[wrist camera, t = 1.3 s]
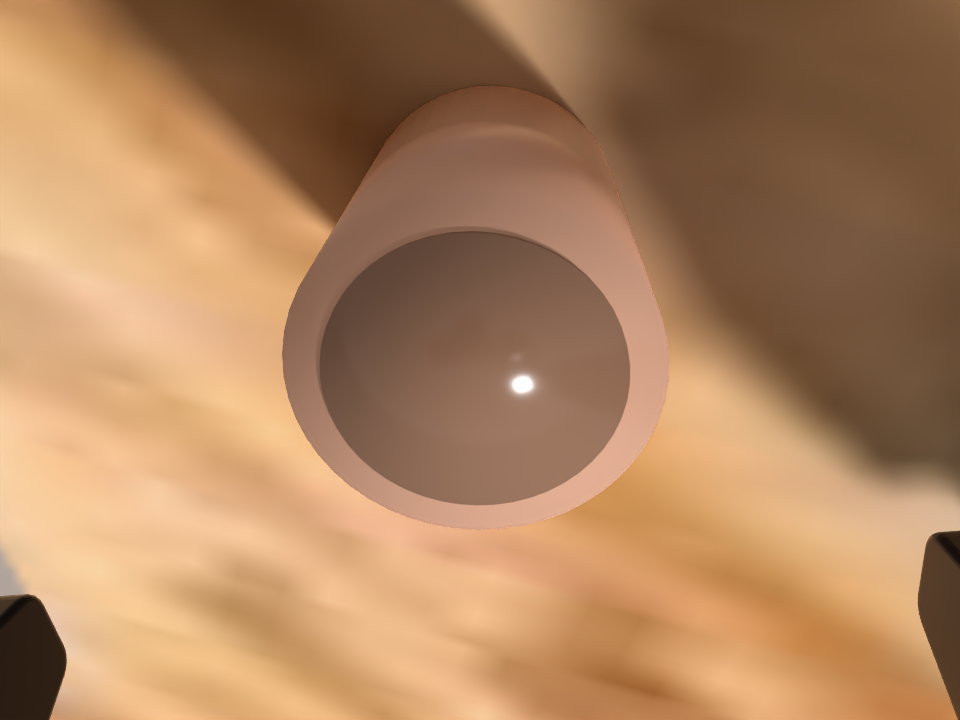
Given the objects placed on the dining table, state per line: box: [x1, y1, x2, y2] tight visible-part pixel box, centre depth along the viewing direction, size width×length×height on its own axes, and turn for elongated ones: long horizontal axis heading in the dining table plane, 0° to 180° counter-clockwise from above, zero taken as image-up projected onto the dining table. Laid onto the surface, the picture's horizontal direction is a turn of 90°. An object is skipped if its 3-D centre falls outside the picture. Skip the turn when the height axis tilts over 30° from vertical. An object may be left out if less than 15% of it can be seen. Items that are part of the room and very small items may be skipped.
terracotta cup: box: [282, 86, 669, 530], centre depth 16 cm, size 6×6×8 cm
